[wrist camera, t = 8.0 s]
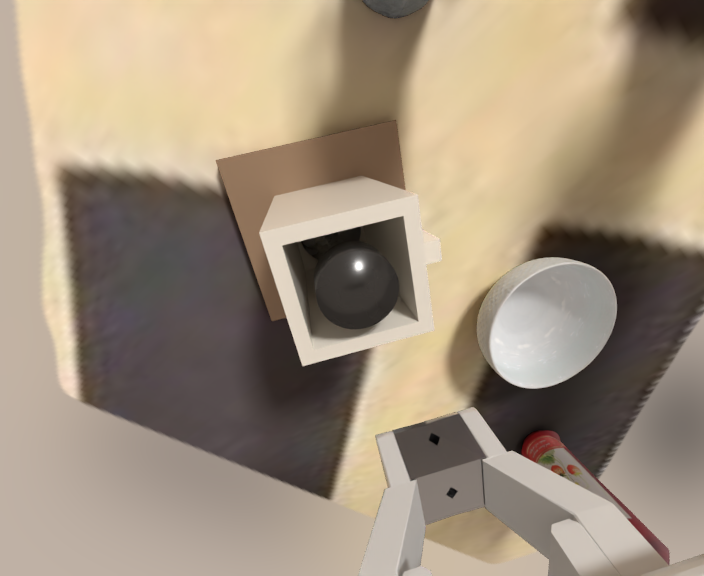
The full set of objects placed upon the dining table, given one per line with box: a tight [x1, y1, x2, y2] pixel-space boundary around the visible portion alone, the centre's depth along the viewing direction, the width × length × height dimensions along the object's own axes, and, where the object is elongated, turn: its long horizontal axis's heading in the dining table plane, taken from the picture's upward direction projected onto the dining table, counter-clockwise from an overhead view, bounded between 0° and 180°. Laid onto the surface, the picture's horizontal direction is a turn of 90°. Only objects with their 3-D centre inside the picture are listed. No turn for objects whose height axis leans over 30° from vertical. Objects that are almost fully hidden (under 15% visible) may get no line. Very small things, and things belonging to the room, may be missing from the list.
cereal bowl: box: [477, 257, 617, 389], centre depth 43 cm, size 17×17×7 cm
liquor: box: [522, 430, 669, 565], centre depth 44 cm, size 7×7×28 cm
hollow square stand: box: [216, 120, 442, 366], centre depth 29 cm, size 18×18×18 cm
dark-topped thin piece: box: [301, 227, 399, 329], centre depth 27 cm, size 6×6×17 cm
